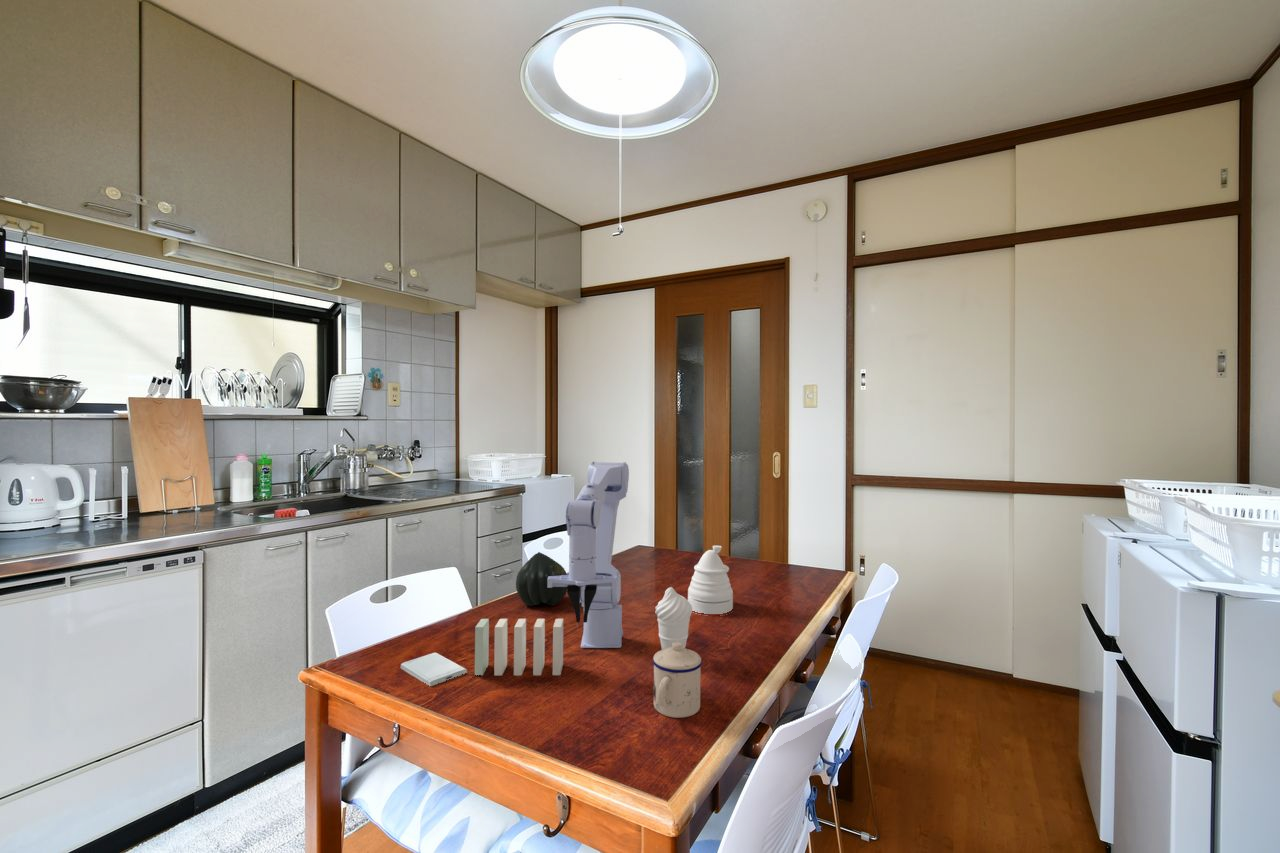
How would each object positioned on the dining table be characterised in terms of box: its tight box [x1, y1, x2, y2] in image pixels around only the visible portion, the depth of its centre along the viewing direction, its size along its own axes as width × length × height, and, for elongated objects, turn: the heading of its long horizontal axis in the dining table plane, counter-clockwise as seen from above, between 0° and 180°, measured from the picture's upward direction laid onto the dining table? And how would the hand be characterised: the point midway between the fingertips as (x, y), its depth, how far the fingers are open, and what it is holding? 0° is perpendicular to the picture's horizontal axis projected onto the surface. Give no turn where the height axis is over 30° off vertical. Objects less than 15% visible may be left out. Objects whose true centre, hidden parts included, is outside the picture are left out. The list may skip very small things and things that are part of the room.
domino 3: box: [513, 618, 527, 676], centre depth 117 cm, size 2×5×10 cm, turn 2°
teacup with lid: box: [652, 642, 703, 719], centre depth 101 cm, size 12×9×12 cm
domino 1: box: [474, 618, 490, 677], centre depth 116 cm, size 2×5×10 cm, turn 2°
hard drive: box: [400, 652, 468, 687], centre depth 116 cm, size 2×8×12 cm
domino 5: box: [552, 618, 564, 676], centre depth 117 cm, size 2×5×10 cm, turn 2°
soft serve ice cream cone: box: [654, 586, 693, 650], centre depth 123 cm, size 8×8×16 cm
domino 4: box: [532, 618, 546, 676], centre depth 117 cm, size 2×5×10 cm, turn 2°
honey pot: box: [687, 544, 734, 614], centre depth 158 cm, size 13×13×18 cm
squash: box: [515, 551, 568, 607], centre depth 162 cm, size 14×15×15 cm
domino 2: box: [493, 618, 508, 676], centre depth 116 cm, size 2×5×10 cm, turn 2°
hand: (581, 620), depth 117 cm, fingers closed
